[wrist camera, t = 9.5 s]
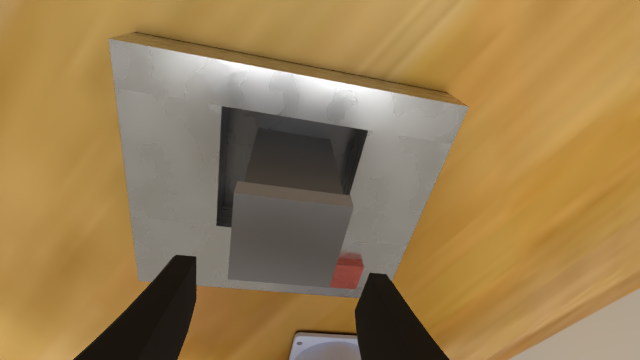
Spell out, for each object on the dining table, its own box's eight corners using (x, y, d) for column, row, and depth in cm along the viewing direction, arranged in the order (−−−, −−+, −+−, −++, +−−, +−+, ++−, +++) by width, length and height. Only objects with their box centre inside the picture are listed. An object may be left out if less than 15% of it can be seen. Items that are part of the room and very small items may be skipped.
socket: (375, 272, 24) (385, 307, 22) (153, 252, 22) (134, 288, 19) (447, 92, 17) (474, 110, 15) (135, 32, 15) (100, 40, 12)
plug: (319, 201, 20) (329, 287, 14) (248, 192, 19) (227, 279, 13) (334, 136, 18) (353, 207, 12) (254, 124, 17) (233, 192, 11)
